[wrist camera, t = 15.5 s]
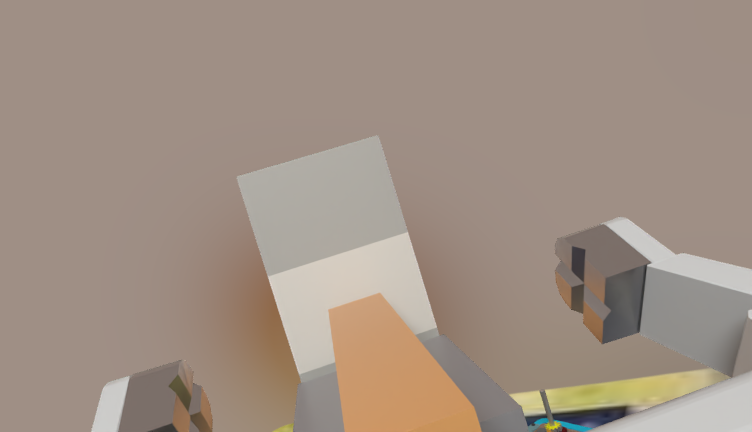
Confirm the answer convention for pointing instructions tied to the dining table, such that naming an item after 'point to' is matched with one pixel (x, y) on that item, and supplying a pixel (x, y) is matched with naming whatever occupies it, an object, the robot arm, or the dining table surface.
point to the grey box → (492, 405)
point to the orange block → (392, 375)
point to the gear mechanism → (553, 422)
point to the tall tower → (333, 245)
